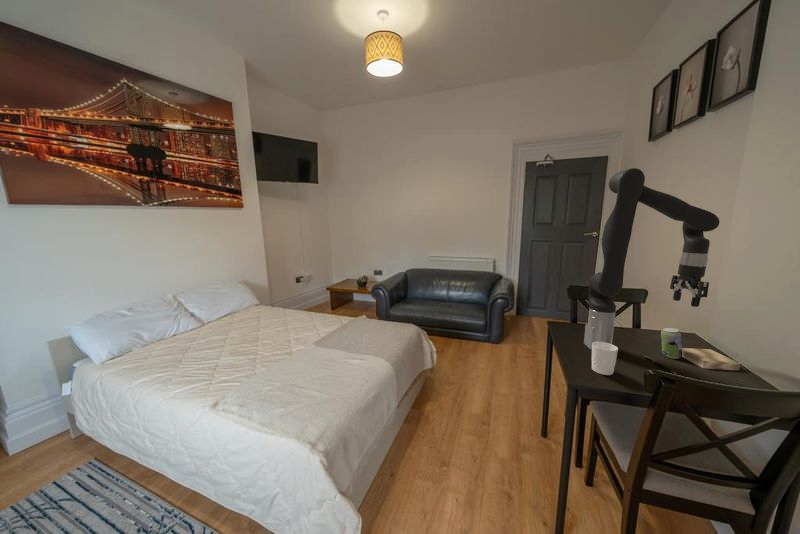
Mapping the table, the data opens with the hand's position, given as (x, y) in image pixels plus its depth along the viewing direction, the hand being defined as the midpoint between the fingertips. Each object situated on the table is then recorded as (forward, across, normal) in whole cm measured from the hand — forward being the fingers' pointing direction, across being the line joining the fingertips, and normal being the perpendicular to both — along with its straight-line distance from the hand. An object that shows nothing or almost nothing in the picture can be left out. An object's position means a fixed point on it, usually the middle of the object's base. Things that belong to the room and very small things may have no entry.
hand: (685, 303), depth 114 cm
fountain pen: (+24, +10, -13) cm, 29 cm away
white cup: (+24, +17, -37) cm, 47 cm away
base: (+23, +4, +8) cm, 24 cm away
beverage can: (+23, +1, -3) cm, 23 cm away
